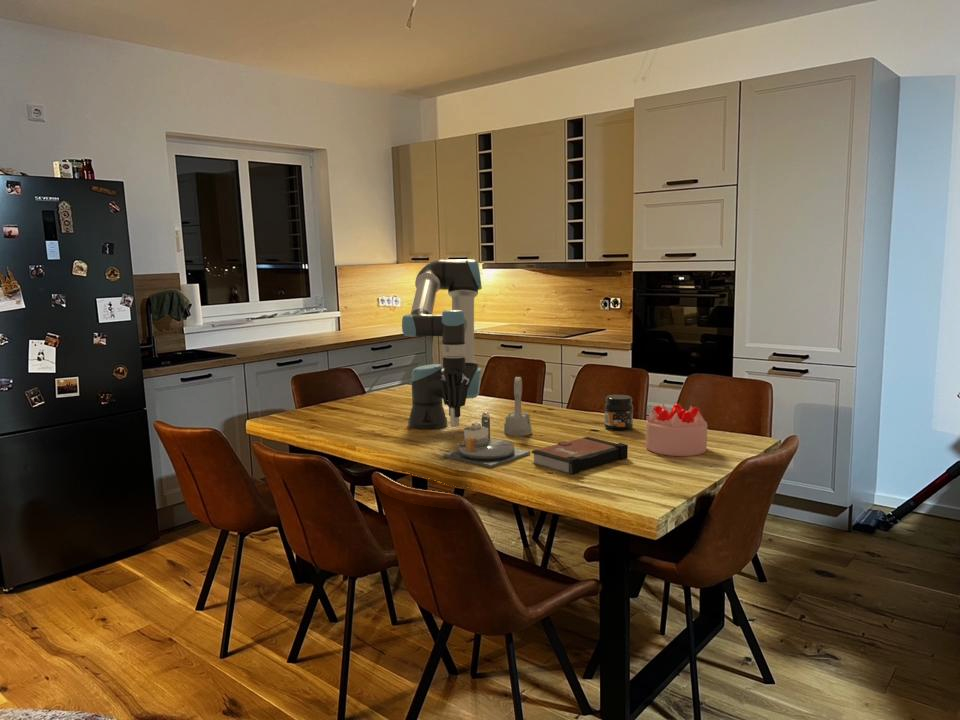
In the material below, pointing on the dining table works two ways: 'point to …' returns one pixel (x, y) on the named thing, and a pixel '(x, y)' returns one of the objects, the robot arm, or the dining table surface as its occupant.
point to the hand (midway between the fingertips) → (454, 426)
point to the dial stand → (486, 422)
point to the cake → (676, 431)
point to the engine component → (517, 415)
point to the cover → (477, 434)
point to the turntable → (486, 449)
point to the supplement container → (618, 413)
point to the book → (579, 455)
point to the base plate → (487, 462)
